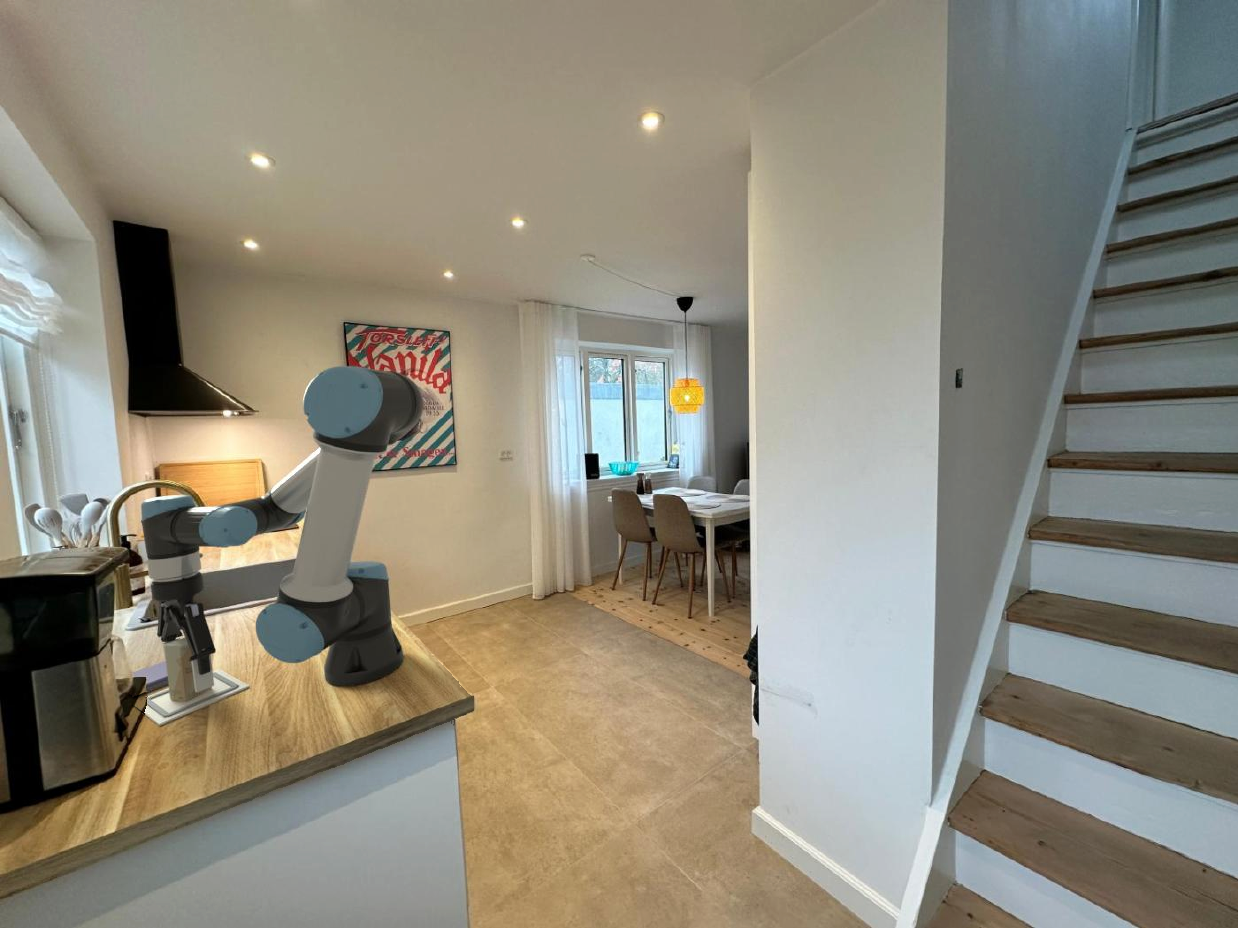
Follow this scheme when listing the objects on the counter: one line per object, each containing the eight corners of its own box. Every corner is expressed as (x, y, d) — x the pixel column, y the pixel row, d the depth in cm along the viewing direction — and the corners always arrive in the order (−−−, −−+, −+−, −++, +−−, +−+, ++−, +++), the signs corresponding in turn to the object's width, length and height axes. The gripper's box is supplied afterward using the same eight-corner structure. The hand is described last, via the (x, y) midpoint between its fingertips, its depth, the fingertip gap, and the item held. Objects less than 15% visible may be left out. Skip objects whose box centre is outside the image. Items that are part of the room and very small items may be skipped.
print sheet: (249, 687, 99) (249, 683, 99) (159, 725, 87) (158, 722, 87) (218, 670, 107) (218, 667, 106) (131, 704, 95) (131, 701, 95)
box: (185, 702, 94) (178, 647, 93) (169, 699, 95) (161, 645, 94) (214, 687, 99) (207, 635, 98) (198, 685, 100) (191, 633, 99)
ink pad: (195, 673, 106) (195, 666, 105) (133, 697, 97) (132, 689, 97) (177, 663, 111) (176, 656, 110) (116, 684, 102) (115, 677, 102)
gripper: (229, 578, 91) (241, 686, 94) (175, 561, 104) (187, 656, 106) (177, 592, 85) (192, 707, 87) (127, 572, 98) (141, 673, 100)
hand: (190, 679), depth 97 cm, fingers open, 13 cm apart
